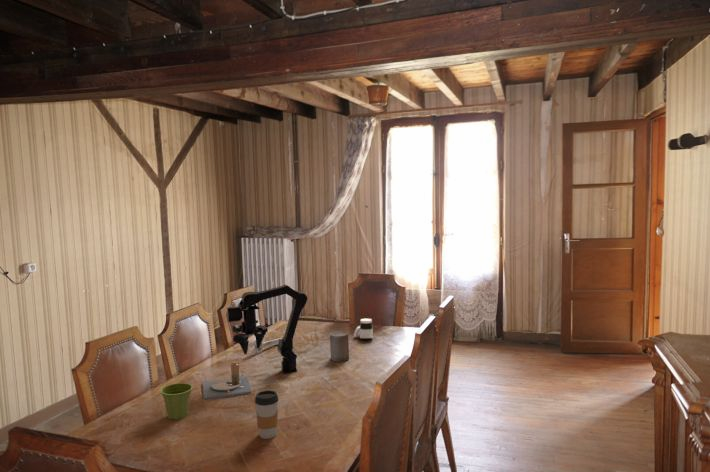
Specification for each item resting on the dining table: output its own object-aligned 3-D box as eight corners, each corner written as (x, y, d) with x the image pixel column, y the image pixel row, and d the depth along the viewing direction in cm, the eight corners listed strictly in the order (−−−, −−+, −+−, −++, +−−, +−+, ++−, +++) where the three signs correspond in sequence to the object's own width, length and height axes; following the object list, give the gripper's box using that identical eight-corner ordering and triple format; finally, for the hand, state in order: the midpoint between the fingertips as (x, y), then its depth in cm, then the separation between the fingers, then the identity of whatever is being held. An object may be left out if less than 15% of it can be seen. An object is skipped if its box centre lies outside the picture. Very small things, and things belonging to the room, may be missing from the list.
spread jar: (373, 341, 285) (372, 321, 285) (353, 341, 286) (353, 322, 285) (372, 335, 297) (372, 316, 296) (354, 335, 298) (353, 317, 297)
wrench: (283, 347, 287) (251, 356, 260) (281, 346, 288) (248, 356, 261) (284, 333, 287) (252, 341, 260) (281, 333, 288) (249, 341, 261)
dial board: (246, 377, 231) (246, 374, 231) (251, 393, 213) (251, 389, 212) (202, 383, 225) (202, 380, 225) (203, 400, 206) (203, 396, 206)
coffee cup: (257, 429, 179) (256, 390, 178) (280, 428, 180) (279, 389, 178) (254, 441, 171) (253, 399, 169) (278, 439, 171) (277, 398, 170)
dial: (205, 389, 214) (204, 366, 214) (221, 378, 227) (220, 357, 226) (231, 392, 211) (230, 369, 210) (246, 381, 223) (245, 359, 222)
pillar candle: (350, 356, 260) (349, 328, 259) (347, 362, 250) (347, 333, 249) (332, 356, 261) (331, 328, 260) (329, 362, 251) (328, 333, 250)
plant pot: (175, 425, 184) (173, 396, 183) (155, 418, 190) (153, 390, 189) (200, 413, 194) (199, 386, 193) (180, 407, 200) (179, 380, 199)
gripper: (249, 313, 243) (251, 343, 244) (223, 322, 226) (225, 355, 228) (267, 314, 237) (269, 346, 239) (241, 324, 221) (244, 358, 222)
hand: (252, 351), depth 232 cm, fingers open, 9 cm apart
